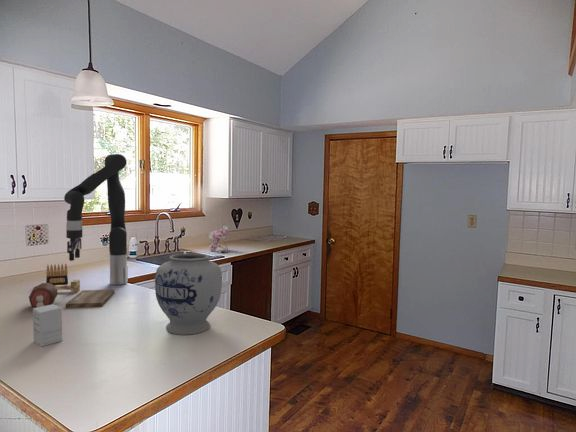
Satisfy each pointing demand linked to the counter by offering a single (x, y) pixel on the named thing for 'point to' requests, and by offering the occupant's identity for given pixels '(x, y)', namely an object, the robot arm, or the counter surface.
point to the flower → (217, 237)
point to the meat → (43, 295)
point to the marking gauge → (70, 286)
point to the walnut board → (90, 298)
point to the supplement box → (47, 324)
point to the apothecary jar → (188, 292)
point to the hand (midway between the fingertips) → (74, 259)
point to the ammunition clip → (57, 275)
